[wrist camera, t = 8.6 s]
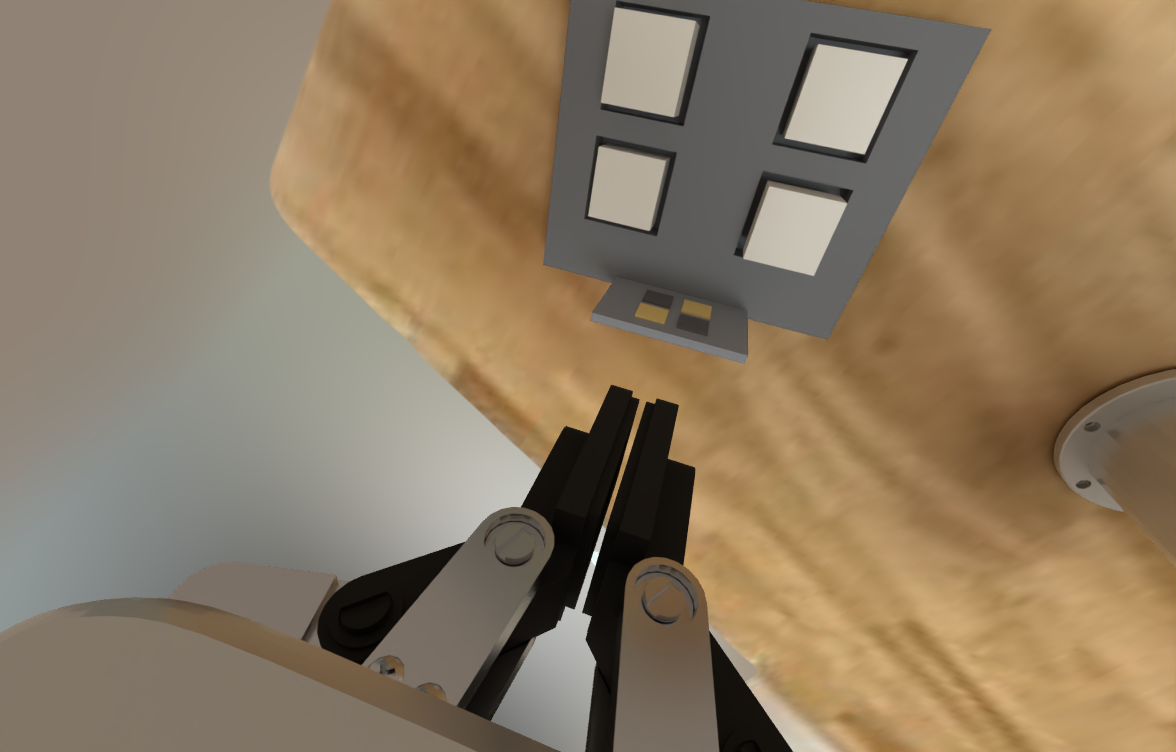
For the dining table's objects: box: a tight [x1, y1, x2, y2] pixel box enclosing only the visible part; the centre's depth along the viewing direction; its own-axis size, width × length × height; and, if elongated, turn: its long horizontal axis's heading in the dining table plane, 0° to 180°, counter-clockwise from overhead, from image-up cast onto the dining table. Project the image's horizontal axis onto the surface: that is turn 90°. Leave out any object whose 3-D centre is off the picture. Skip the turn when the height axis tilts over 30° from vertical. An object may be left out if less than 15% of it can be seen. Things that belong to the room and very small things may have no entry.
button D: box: [588, 143, 671, 231], centre depth 31 cm, size 4×4×2 cm
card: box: [591, 277, 748, 364], centre depth 31 cm, size 10×1×7 cm, turn 81°
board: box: [543, 0, 991, 340], centre depth 30 cm, size 22×18×3 cm
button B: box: [601, 8, 700, 117], centre depth 27 cm, size 4×4×2 cm
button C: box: [743, 180, 847, 276], centre depth 29 cm, size 4×4×2 cm
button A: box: [782, 44, 908, 154], centre depth 26 cm, size 4×4×2 cm
